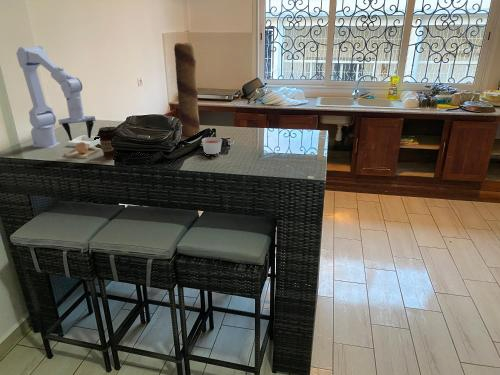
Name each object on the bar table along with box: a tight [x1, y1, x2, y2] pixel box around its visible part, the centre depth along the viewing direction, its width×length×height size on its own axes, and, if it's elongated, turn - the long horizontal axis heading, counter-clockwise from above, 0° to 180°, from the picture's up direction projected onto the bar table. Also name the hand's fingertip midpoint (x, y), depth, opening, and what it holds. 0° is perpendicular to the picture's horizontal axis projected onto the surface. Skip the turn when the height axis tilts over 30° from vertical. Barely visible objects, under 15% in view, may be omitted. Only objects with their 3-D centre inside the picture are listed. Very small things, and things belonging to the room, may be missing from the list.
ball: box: [75, 142, 88, 153], centre depth 172 cm, size 5×5×5 cm
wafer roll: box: [173, 42, 201, 137], centre depth 196 cm, size 10×11×45 cm
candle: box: [201, 136, 223, 155], centre depth 176 cm, size 9×9×6 cm
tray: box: [63, 147, 102, 159], centre depth 173 cm, size 11×11×2 cm
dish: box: [67, 134, 100, 148], centre depth 186 cm, size 11×11×2 cm
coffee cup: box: [97, 126, 120, 160], centre depth 168 cm, size 9×8×13 cm
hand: (80, 138), depth 170 cm, fingers open, 7 cm apart
